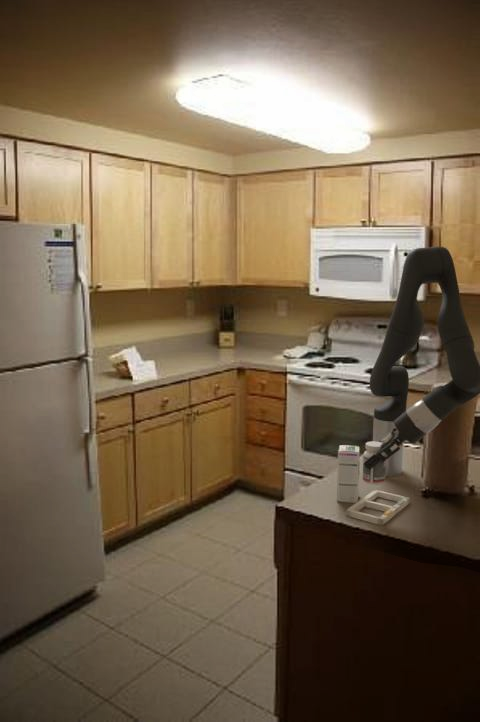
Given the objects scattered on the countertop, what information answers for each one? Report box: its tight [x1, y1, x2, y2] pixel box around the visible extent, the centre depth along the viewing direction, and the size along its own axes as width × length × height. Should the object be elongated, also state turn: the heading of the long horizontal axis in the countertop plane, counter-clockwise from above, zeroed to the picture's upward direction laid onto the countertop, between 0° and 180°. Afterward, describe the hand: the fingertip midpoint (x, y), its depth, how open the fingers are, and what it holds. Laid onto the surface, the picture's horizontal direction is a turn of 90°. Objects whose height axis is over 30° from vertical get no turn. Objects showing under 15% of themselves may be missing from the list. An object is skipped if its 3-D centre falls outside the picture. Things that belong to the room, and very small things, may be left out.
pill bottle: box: [362, 440, 387, 486], centre depth 161 cm, size 6×6×10 cm
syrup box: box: [336, 444, 361, 504], centre depth 172 cm, size 6×6×14 cm
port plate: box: [345, 489, 410, 526], centre depth 166 cm, size 18×10×2 cm, turn 144°
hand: (367, 462), depth 161 cm, fingers closed on pill bottle, 5 cm apart
